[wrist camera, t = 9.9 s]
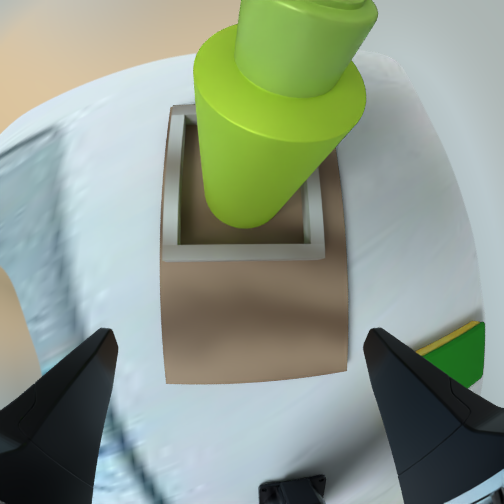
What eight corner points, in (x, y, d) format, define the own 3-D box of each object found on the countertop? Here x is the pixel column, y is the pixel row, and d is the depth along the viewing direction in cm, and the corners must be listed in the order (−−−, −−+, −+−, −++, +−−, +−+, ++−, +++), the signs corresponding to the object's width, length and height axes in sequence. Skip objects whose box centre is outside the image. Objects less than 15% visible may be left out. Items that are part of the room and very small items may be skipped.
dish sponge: (470, 373, 23) (483, 376, 21) (384, 423, 21) (397, 433, 19) (471, 319, 24) (485, 321, 21) (383, 363, 22) (398, 369, 19)
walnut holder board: (341, 367, 21) (355, 376, 18) (168, 379, 19) (162, 391, 17) (326, 120, 23) (336, 105, 21) (171, 113, 21) (168, 96, 19)
